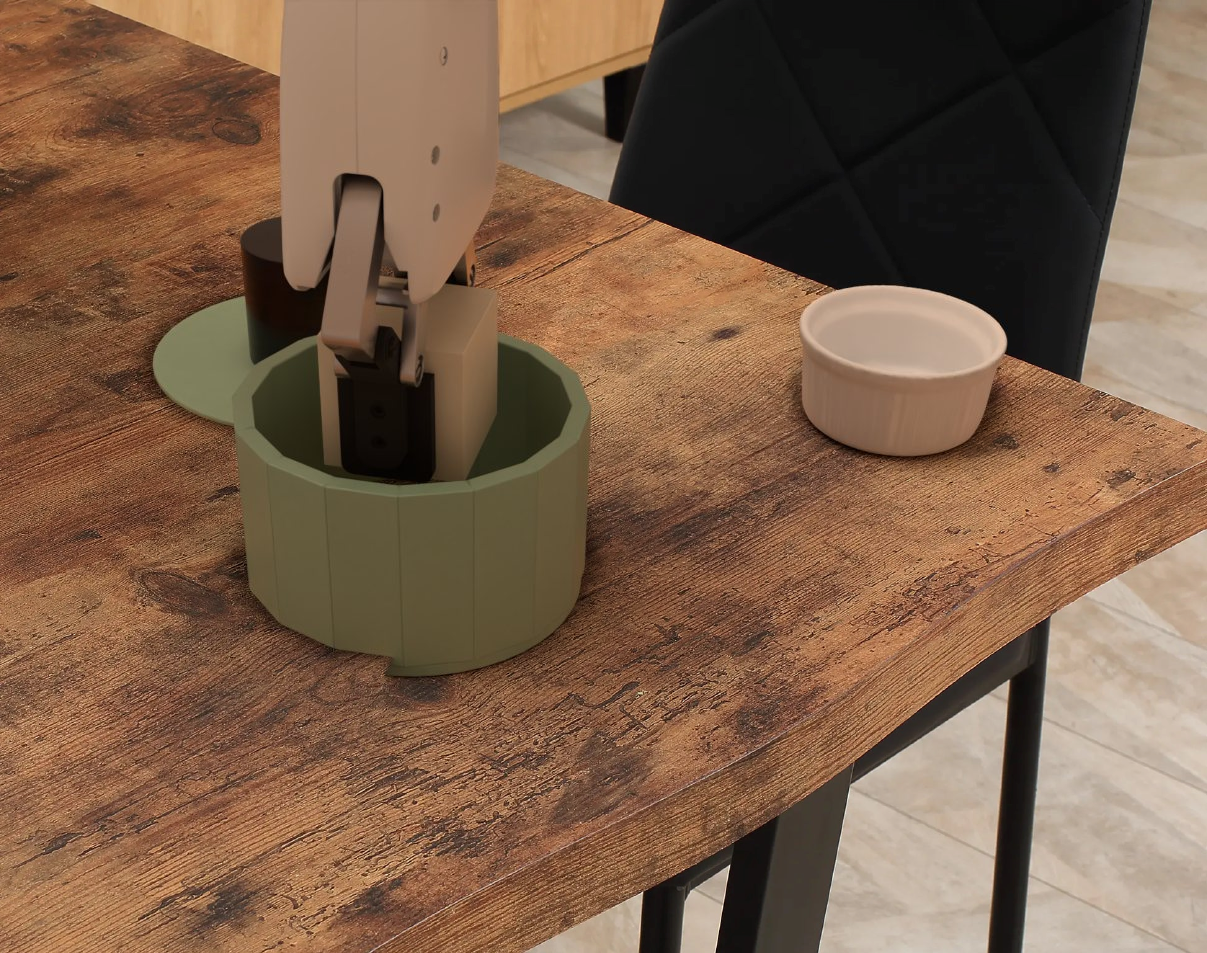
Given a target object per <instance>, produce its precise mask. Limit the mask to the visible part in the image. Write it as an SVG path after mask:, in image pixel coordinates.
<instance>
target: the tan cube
mask: <svg viewBox="0 0 1207 953" xmlns="http://www.w3.org/2000/svg"><path fill="white" fill-rule="evenodd" d="M379 281H387V282H395V283H403V284H406V283H407V282H408V279H402V278H394V276H385V275H380V278H379ZM375 308H376V317H377V319H378V320H379V321H380V322H379V325H381V326H388V327H392V328H393V330H394V331H395V333H396V334H397V336H398V337H399V339H400V340H401V337H402V318H403V308H399V307H391V306H383V305H375ZM498 332H499V290H498V289H493V288H483V287H476V286H475V287H468V286H460V285H452V284H444V285H443V286H442V288H441V289H440V290H439V291H438V292H437V293H436V294H434V295H433V296H432V297H430V298H429V299H428V313H427V330H426V346H425V363H424V372H425V373H433V374H435V440H436V470H435V472H434V474H433V476H432V478H431V480H434V481H435V480H436V481H441V482H453V481H465V480H466V478H467V476H468V474H469V472H470V469H471V467H472V465H473V463H474V461H475V459H476V457H477V455H478V453H479V451H480V448H481V446H482V444H483V442H484V440H485V438H486V436H487V434H488V432H489V430H490V427H491V425H492V423H493V421H494V419H495V417H496V415H497V356H498ZM317 345H318V362H319V379H320V396H321V414H322V431H323V448H324V464H325V465H330V466H337V467H342V464H341V450H340V430H339V411H338V392H337V377H336V376H335V373H334V352H333V351H332V350H330V349H329V348H328V347H327V346H325V345H324V344H323V342H322V338H321V331H320V332H319V334H318V335H317Z"/></svg>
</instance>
